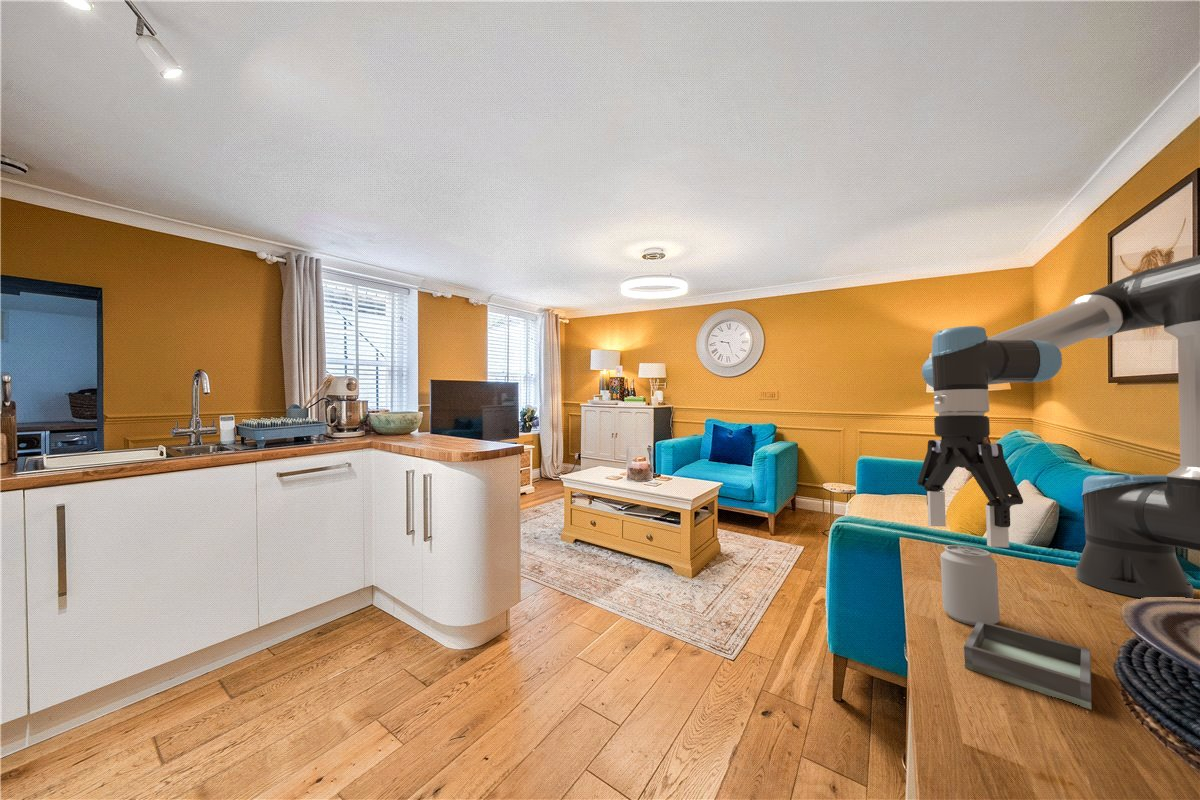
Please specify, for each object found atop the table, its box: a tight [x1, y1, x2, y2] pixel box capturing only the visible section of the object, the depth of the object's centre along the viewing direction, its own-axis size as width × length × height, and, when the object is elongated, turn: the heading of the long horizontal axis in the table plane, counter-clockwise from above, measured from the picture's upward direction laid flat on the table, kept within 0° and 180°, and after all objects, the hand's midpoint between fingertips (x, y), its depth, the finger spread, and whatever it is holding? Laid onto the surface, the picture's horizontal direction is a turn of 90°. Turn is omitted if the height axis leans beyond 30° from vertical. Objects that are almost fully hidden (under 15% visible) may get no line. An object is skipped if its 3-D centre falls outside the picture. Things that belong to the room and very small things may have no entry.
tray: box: [963, 620, 1092, 711], centre depth 59 cm, size 12×12×3 cm
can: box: [940, 544, 1000, 627], centre depth 75 cm, size 8×8×12 cm
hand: (964, 535), depth 75 cm, fingers open, 13 cm apart
